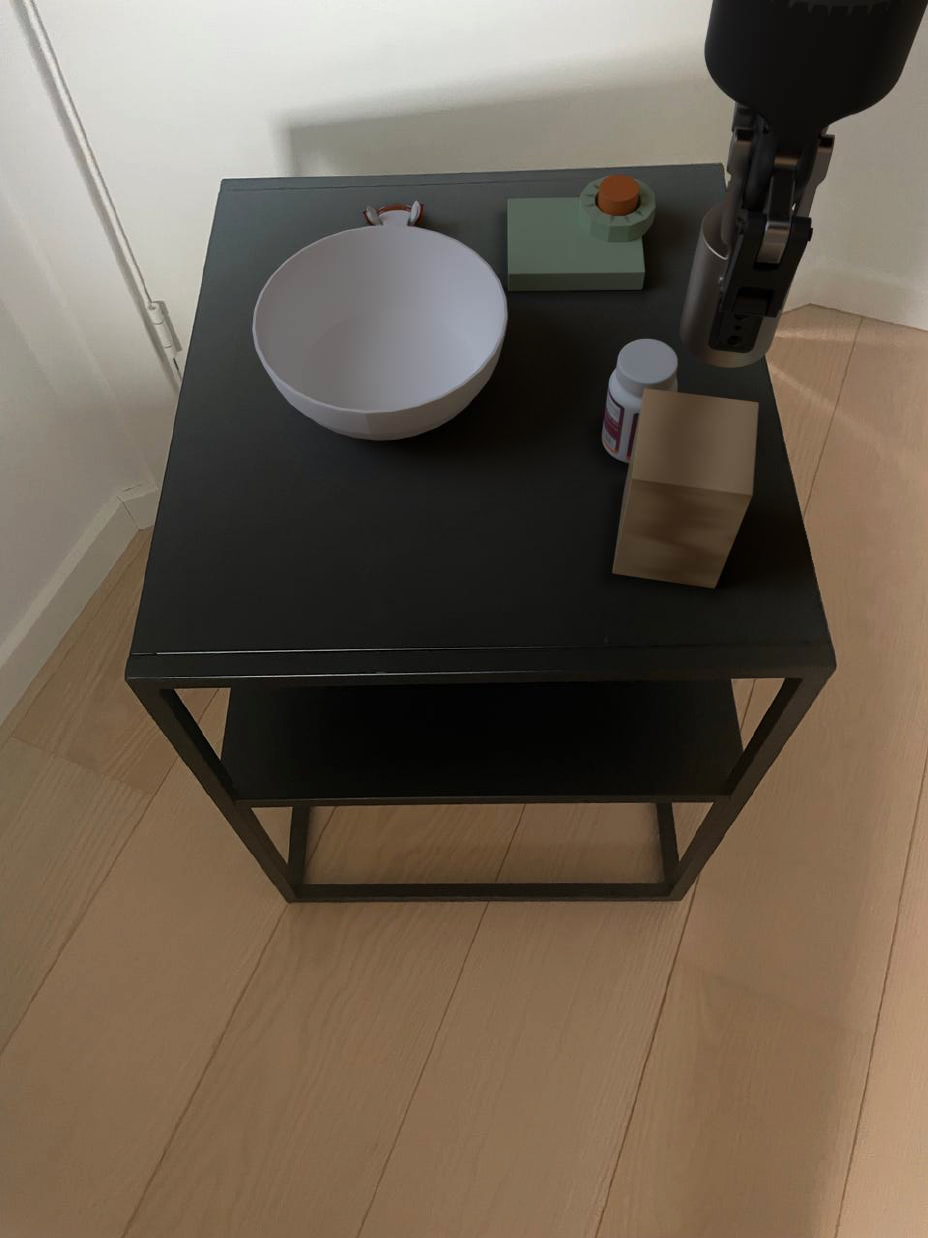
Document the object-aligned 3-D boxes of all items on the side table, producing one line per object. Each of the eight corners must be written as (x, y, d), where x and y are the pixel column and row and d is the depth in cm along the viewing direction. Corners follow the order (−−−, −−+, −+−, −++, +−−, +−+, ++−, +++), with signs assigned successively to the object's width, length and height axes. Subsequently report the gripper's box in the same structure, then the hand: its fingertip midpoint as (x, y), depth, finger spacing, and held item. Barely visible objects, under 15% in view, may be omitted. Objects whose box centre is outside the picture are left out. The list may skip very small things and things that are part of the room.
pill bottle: (674, 426, 72) (694, 345, 64) (652, 473, 70) (670, 396, 62) (614, 406, 73) (627, 325, 65) (591, 452, 71) (601, 374, 63)
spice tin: (774, 305, 51) (808, 199, 45) (770, 373, 48) (806, 271, 43) (683, 295, 51) (705, 190, 45) (674, 362, 49) (697, 260, 43)
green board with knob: (646, 209, 83) (652, 174, 80) (655, 289, 78) (661, 255, 75) (507, 212, 83) (507, 176, 80) (507, 291, 79) (508, 257, 76)
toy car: (426, 209, 84) (424, 177, 81) (427, 274, 80) (425, 243, 77) (367, 212, 84) (362, 180, 81) (365, 277, 80) (360, 247, 77)
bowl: (512, 299, 78) (513, 226, 72) (501, 482, 70) (502, 417, 63) (291, 294, 79) (273, 221, 73) (254, 473, 71) (230, 409, 64)
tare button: (635, 190, 79) (638, 173, 78) (638, 216, 78) (640, 200, 76) (596, 190, 79) (598, 174, 78) (598, 217, 78) (600, 201, 76)
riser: (721, 505, 68) (759, 401, 58) (715, 589, 65) (753, 494, 55) (623, 491, 69) (644, 387, 59) (612, 573, 66) (631, 478, 56)
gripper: (957, 68, 29) (805, 426, 44) (940, -163, 36) (812, 217, 51) (711, 49, 30) (643, 406, 45) (737, -173, 37) (670, 204, 52)
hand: (733, 305), depth 48 cm, fingers closed on spice tin, 4 cm apart
